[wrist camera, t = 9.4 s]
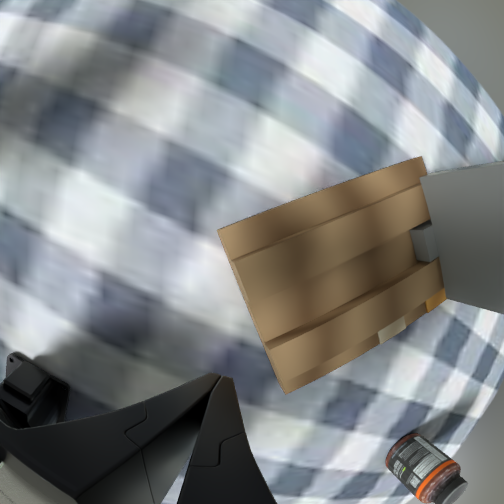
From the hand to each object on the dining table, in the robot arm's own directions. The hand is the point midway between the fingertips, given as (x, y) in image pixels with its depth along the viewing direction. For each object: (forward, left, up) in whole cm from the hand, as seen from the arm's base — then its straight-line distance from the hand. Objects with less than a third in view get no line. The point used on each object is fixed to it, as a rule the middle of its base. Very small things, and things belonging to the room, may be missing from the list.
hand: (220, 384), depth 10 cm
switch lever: (+12, -16, -11) cm, 23 cm away
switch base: (+8, -11, -12) cm, 18 cm away
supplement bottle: (-10, -30, -13) cm, 34 cm away
